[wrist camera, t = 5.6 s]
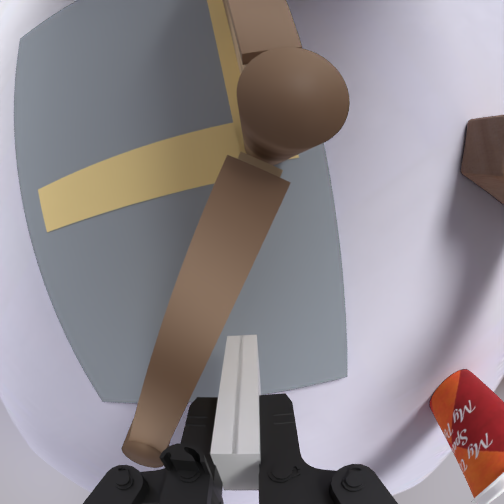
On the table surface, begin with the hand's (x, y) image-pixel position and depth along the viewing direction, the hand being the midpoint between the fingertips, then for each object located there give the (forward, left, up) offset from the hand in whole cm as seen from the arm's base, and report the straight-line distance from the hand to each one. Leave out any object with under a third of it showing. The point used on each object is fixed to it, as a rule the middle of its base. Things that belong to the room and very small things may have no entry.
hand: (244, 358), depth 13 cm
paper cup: (+14, +18, -5) cm, 24 cm away
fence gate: (-3, -2, -3) cm, 5 cm away
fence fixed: (-17, +3, -4) cm, 17 cm away
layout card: (-10, -4, -4) cm, 11 cm away
